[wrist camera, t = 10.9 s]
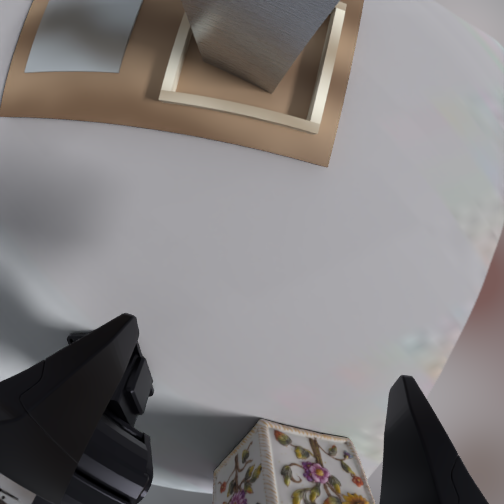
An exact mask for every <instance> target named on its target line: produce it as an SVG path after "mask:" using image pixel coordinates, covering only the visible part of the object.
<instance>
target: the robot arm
mask: <svg viewBox="0 0 504 504" xmlns="http://www.w3.org/2000/svg"><path fill="white" fill-rule="evenodd" d="M138 337H139V329H138V324H137V319H136V317H135V316H134V315H131V314H128V313H124V314H121V315H120V316H118V317H116V318H115V319H113V320H111V321H109V322H108V323H106V324H104V325H102V326H101V327H99V328H97V329H96V330H94V331H92V332H90V333H89V334H70V335H69V336H68V337H67V341H68V344H69V345H68V346H66V347H65V348H63V349H61V350H60V351H58V352H56V353H54V354H53V355H51V356H49V357H48V358H46V359H45V360H42V361H41V362H39V363H37V364H36V365H34V366H32V367H30V368H28V369H27V370H25V371H23V372H21V373H19V374H16V375H14V376H12V377H10V378H8V379H6V380H3V381H1V382H0V504H137V503H138V502H140V501H141V500H142V499H143V498H144V496H145V495H146V494H147V492H148V490H149V488H150V486H151V483H152V479H153V466H152V456H151V445H150V436H148V435H146V434H145V433H141V432H140V431H138V430H137V429H135V428H134V425H135V421H136V418H137V415H142V414H143V413H144V410H145V407H146V403H147V400H148V397H150V396H152V395H153V393H154V389H153V386H152V383H153V379H152V376H151V373H150V370H149V367H148V364H147V361H146V359H145V358H144V357H143V356H142V353H141V350H140V347H139V344H138ZM72 339H73V340H74V341H73V340H72ZM380 504H489V503H488V502H487V500H486V499H485V497H484V496H483V494H482V493H481V491H480V490H479V488H478V487H477V485H476V484H475V482H474V481H473V479H472V477H471V476H470V475H469V473H468V471H467V469H466V467H465V465H464V464H463V462H462V460H461V458H460V456H459V455H458V453H457V451H456V449H455V447H454V446H453V444H452V442H451V440H450V439H449V437H448V435H447V433H446V432H445V430H444V428H443V426H442V424H441V423H440V421H439V419H438V418H437V416H436V414H435V412H434V411H433V409H432V407H431V406H430V404H429V403H428V401H427V399H426V397H425V396H424V394H423V392H422V391H421V389H420V388H419V386H418V384H417V383H416V381H415V379H414V378H413V377H412V376H407V375H401V376H400V377H399V378H398V379H397V381H396V382H395V383H394V385H393V386H392V388H391V389H390V392H389V399H388V408H387V416H386V424H385V432H384V453H383V470H382V484H381V495H380Z"/></svg>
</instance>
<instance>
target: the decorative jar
mask: <svg viewBox="0 0 504 504" xmlns="http://www.w3.org/2000/svg"><path fill="white" fill-rule="evenodd" d="M212 504H375V501H374V498H373V496H372V493H371V490H370V488H369V484H368V481H367V478H366V475H365V472H364V469H363V467H362V464H361V461H360V459H359V457H358V454H357V452H356V449H355V447H354V444H353V443H352V441H351V440H350V439H349V438H345V437H338V436H333V435H327V434H320V433H316V432H313V431H308V430H303V429H299V428H295V427H290V426H286V425H281V424H278V423H275V422H272V421H267V420H265V419H260V420H259V421H258V422H257V424H256V425H255V426H254V427H253V429H252V430H251V431H250V432H249V433H248V434H247V435H246V436H245V438H244V439H243V440H242V441H241V442H240V443H239V444H238V445H237V446H236V448H235V449H234V450H233V451H232V452H231V453H230V454H229V455H228V456H227V457H226V458H225V459H224V460H223V461H222V462H221V464H220V465H219V466H218V467H217V468H216V469H215V471H214V475H213V502H212Z"/></svg>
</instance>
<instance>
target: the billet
mask: <svg viewBox="0 0 504 504" xmlns="http://www.w3.org/2000/svg"><path fill="white" fill-rule="evenodd" d="M339 1H340V0H181V2H182V5H183V7H184V10H185V13H186V15H187V18H188V21H189V23H190V26H191V29H192V32H193V34H194V37H195V40H196V43H197V45H198V48H199V51H200V54H201V56H202V59H203V62H205V63H208V64H210V65H212V66H215V67H217V68H219V69H221V70H224V71H226V72H228V73H230V74H232V75H234V76H237V77H239V78H241V79H243V80H245V81H247V82H249V83H251V84H253V85H255V86H257V87H259V88H261V89H263V90H265V91H267V92H269V93H271V94H272V93H273V92H274V90H275V89H276V87H277V86H278V84H279V83H280V81H281V80H282V78H283V77H284V76H285V74H286V73H287V71H288V70H289V68H290V67H291V66H292V64H293V63H294V61H295V60H296V58H297V57H298V56H299V54H300V53H301V52H302V50H303V49H304V47H305V46H306V45H307V43H308V42H309V41H310V39H311V38H312V36H313V35H314V34H315V32H316V31H317V30H318V28H319V27H320V26H321V24H322V23H323V22H324V20H325V19H326V18H327V17H328V15H329V14H330V13H331V11H332V10H333V9H334V7H335V6H336V5H337V4H338V2H339Z"/></svg>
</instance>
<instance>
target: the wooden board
mask: <svg viewBox="0 0 504 504" xmlns="http://www.w3.org/2000/svg"><path fill="white" fill-rule="evenodd" d="M363 3H364V0H340V1H339V2H338V4H337V5H336V6H335V7H334V9H333V10H332V11H331V13H330V14H329V15H328V17H327V18H326V19H325V20H324V22H323V23H322V24H321V26H320V27H319V28H318V30H317V31H316V32H315V34H314V35H313V36H312V38H311V39H310V41H309V42H308V43H307V45H306V46H305V47H304V49H303V50H302V52H301V53H300V54H299V56H298V57H297V58H296V60H295V61H294V63H293V64H292V66H291V67H290V68H289V70H288V71H287V73H286V74H285V76H284V77H283V78H282V80H281V81H280V83H279V84H278V86H277V87H276V89H275V90H274V92H273V93H272V94H271V93H269V92H267V91H265V90H263V89H261V88H259V87H257V86H255V85H253V84H251V83H249V82H247V81H245V80H243V79H241V78H239V77H237V76H234V75H232V74H230V73H228V72H226V71H224V70H221V69H219V68H217V67H215V66H212V65H210V64H208V63H205V62H203V59H202V56H201V54H200V51H199V48H198V45H197V43H196V40H195V37H194V34H193V32H192V29H191V26H190V23H189V21H188V18H187V15H186V13H185V10H184V7H183V5H182V2H181V0H34V1H33V3H32V5H31V8H30V10H29V12H28V15H27V17H26V20H25V23H24V25H23V28H22V31H21V34H20V36H19V39H18V42H17V45H16V48H15V52H14V55H13V58H12V62H11V65H10V69H9V72H8V76H7V80H6V84H5V88H4V93H3V97H2V102H1V107H0V117H30V118H51V119H66V120H79V121H90V122H100V123H109V124H118V125H126V126H133V127H141V128H148V129H154V130H161V131H167V132H173V133H179V134H185V135H191V136H196V137H201V138H207V139H212V140H217V141H222V142H227V143H231V144H236V145H240V146H245V147H249V148H254V149H258V150H262V151H267V152H271V153H275V154H279V155H283V156H287V157H290V158H294V159H298V160H302V161H305V162H309V163H313V164H316V165H320V166H324V167H328V164H329V160H330V156H331V152H332V148H333V144H334V140H335V136H336V132H337V128H338V123H339V119H340V115H341V111H342V106H343V102H344V97H345V93H346V88H347V84H348V79H349V75H350V70H351V65H352V60H353V55H354V51H355V46H356V40H357V35H358V30H359V25H360V19H361V14H362V8H363Z"/></svg>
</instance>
